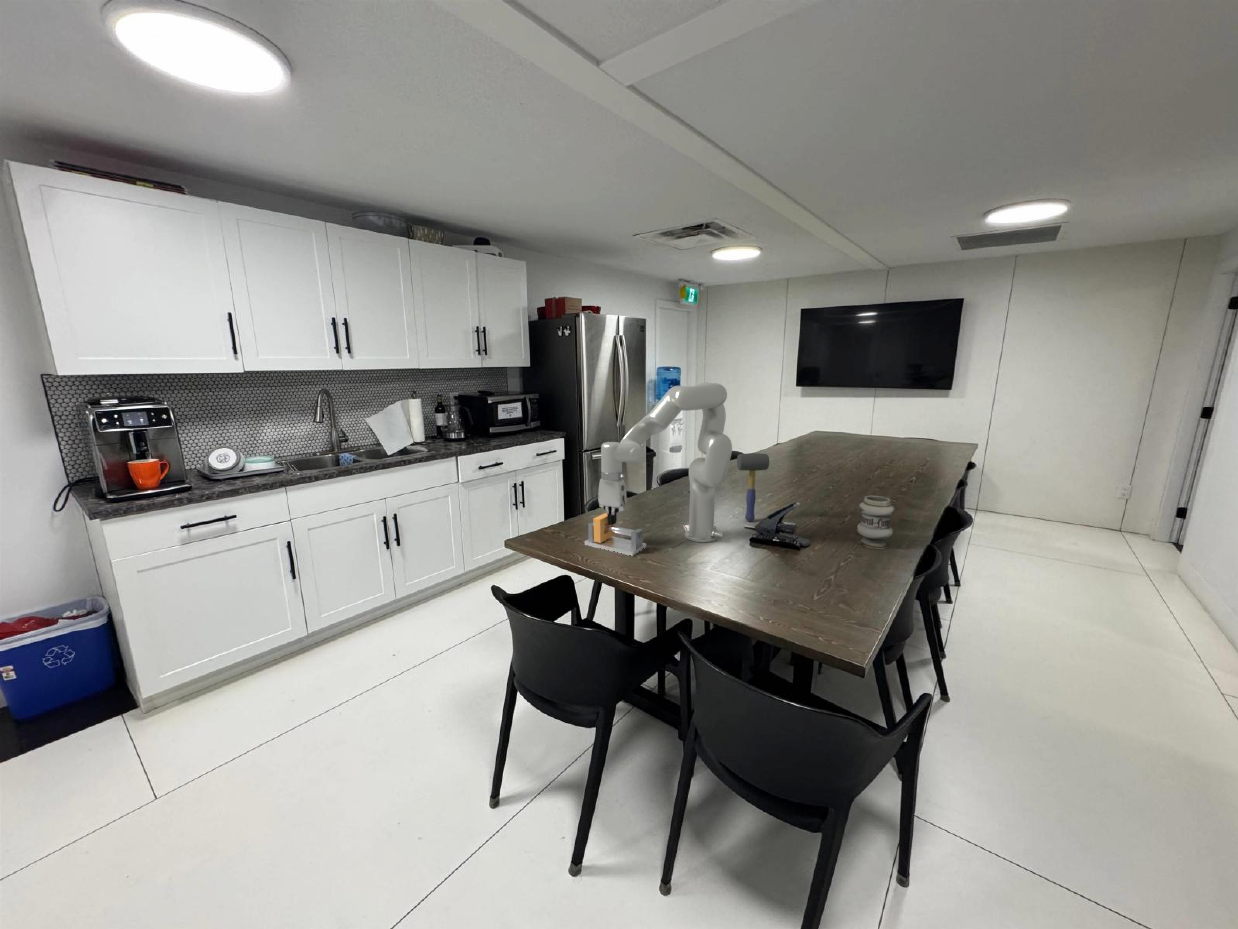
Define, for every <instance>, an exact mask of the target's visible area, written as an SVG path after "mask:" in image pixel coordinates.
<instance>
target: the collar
mask: <svg viewBox="0 0 1238 929" xmlns="http://www.w3.org/2000/svg"><path fill="white" fill-rule="evenodd" d="M592 522H594V542H599V543H601V542H603V541H605V540H607V539H609V538H611V537H612V536H613V537H615V533H613V532H608V531H604V524H606V525H608V517H607V514H606V512H605V513H602V514H600V515H598V516H596V517H593V521H592ZM611 526H615V524H614V525H611Z"/></svg>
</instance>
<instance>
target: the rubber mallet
mask: <svg viewBox="0 0 1238 929" xmlns="http://www.w3.org/2000/svg"><path fill="white" fill-rule="evenodd" d="M769 466H770V457H769V455H768V453H757V452H753V453H749V452H748V453H747V452H746V453H739V454H738V455H737V458H736V467H737V469H738V470H739V471H749V472H748V487H747V491H746V498H745V500H746V510H745V512H746V513H745V515H744V516H745V520H747V521H746V522H749V521H752V522H754V520H755V518H756V517H755V505H756V497H757V495H756V489H755V488H756V487H755V486H756V485H755V484H756V471H767V470H768V469H769V468H770V467H769Z"/></svg>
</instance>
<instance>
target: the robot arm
mask: <svg viewBox="0 0 1238 929" xmlns="http://www.w3.org/2000/svg"><path fill="white" fill-rule="evenodd" d="M727 399H728V392H727V389H726V387H725V386H724V385H722V384H720V383H716V382H700V383H698V384H697V385H690V386H688V385H687V386H685V385H675V386H672V387H671V388H670V389H668V390H667V392H666V393H665V394H664V395H663V396H662V397H661V398H660V400H659V401H658V402H657V403H656V405H655V406H654V407H653V408H652V409H651V410H650V411H649V413H648V414H647V415H645V416H644V417H642V419H641V420H639V421H638V422H637V423H636V424H635V425H633V426H632V427H631V429H629V430H628V432H627V433H626V434H625V435H624V437H623V438H622V439H621V440H620V442H616V441H607V442H606V441H605V442H603V443H602V444H601V446H600V451H601V452H600V453H601V454H600V455H601V456H600V457H601V458H600V461H601V463H600V466H601V468H600V469H601V470H600V471H601V473H600V474H601V478H600V479H599V483H598V484H599V485H598V492H597V493H598V496H597V498H598V499H597V500H598V505H599V507H600V508H602V509H604V511H605V513H606V514H607V517H608V525H614V526H615V524H617V521H618V520H617V518H618V517H617V514H618V513H619V512H624V511H625V510H626V507H625V506H626V505H627V502H628V501H627V500H628V499H627V497H628V496H627V488H626V483H625V479H624V478H625V474H624V473H623V463H629V464H630V463H631V464H635V463H639V462H641V461H642V460H643V459H644V457H645V455H646V452H645V448H644V447H643V444H644V443H645V442H646V441H647V440H648V439H649V438H651V437H653V436H654V435H656V434H659V433H662V432H664V431H665V430H666V429H667V428H668V427H669V426H670V425H671V424H672V422H673V421H674V420H675V419H676V418H677V416H678V415H680V414H681V412H682V411H683V412H684V411H699V410H702V419H701V420H702V421H701V425H700V431H699V434H698V438H697V449H698V451H699V452H700V453H702V454H703V455H705V457H698V458H695V459H693V460H692V461H691V463H690V464H689V467H688V480H689V511H688V514H689V515H688V516H689V518H688V519H689V521H688V530H687V531H685V532H684V537H685V538H686V540H689V541H691V542H695V543H711V542H714V541H715V542H716V540H717V539H718V538H722V539H723V537H724V532H723V531H722V530H718V529H717V526H716V525H714V524H715V504H716V503H715V501H716V499H715V498H716V490H715V489H716V488H718V487H720V486H722V485H723V483H725V480H726V477H727V474H728V470H729V466H730V462H731V457H732V452H733V444H732V440H731V438H730V437H729V436H728V435H726V434H725V433H724V432H725V424H726V417H727V413H726V408H725V402H726V401H727Z"/></svg>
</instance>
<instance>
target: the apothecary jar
mask: <svg viewBox="0 0 1238 929" xmlns="http://www.w3.org/2000/svg"><path fill="white" fill-rule="evenodd" d="M858 509H859V511H860V512H861V518H860V522H859V523H858V524H857V526H856V531H857V532H858V533H859V535H861V536H862V537H864V538H860V539H859V540H858V544H859V545H862V546H863V547H865V548H869V549H875V550H884V549H887V548H888V546H889V545H888V543H887V542H886V541H883V540H887V539H889V538H890V537H892V536H893V535H894V529H893V528H892V527H891V516H892V515H894V513H895V511H896V508H895V507H894V506H893V505H892V504H891V499H890V498H889V497H886V496H880V495H867V496H864V499H863V501H861V503H859V504H858Z"/></svg>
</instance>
